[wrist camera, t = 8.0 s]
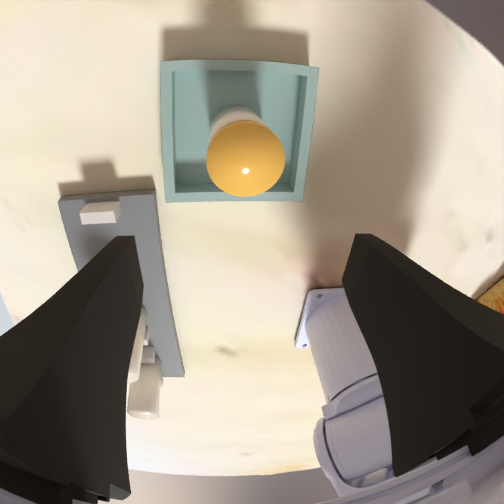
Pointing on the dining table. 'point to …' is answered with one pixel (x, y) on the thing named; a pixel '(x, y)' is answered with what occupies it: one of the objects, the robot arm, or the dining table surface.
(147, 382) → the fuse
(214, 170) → the cylinder
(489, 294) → the croissant
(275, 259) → the dining table surface
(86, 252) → the fuse panel
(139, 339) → the fuse middle
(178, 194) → the tray
